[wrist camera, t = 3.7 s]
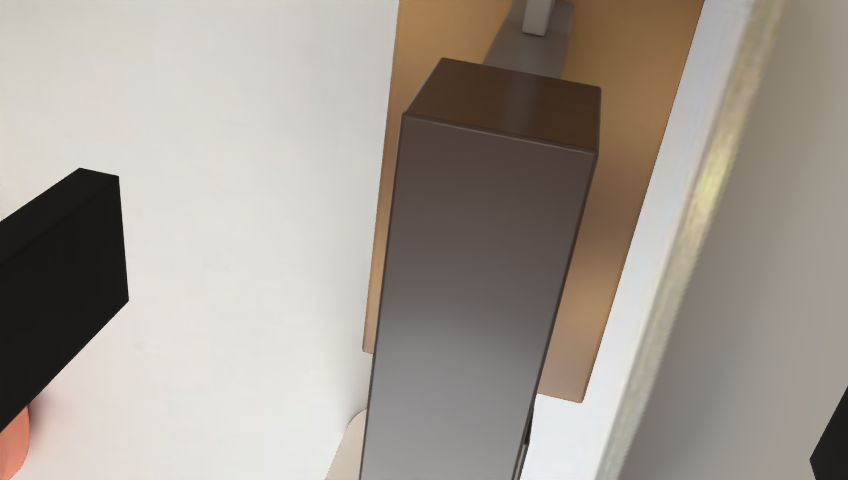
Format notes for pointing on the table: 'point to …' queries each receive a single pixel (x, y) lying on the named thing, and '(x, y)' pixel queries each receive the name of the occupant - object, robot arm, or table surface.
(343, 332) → the table surface
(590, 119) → the brown and grey bar
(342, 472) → the candle
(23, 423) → the teapot
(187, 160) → the table surface
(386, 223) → the wood grain block
